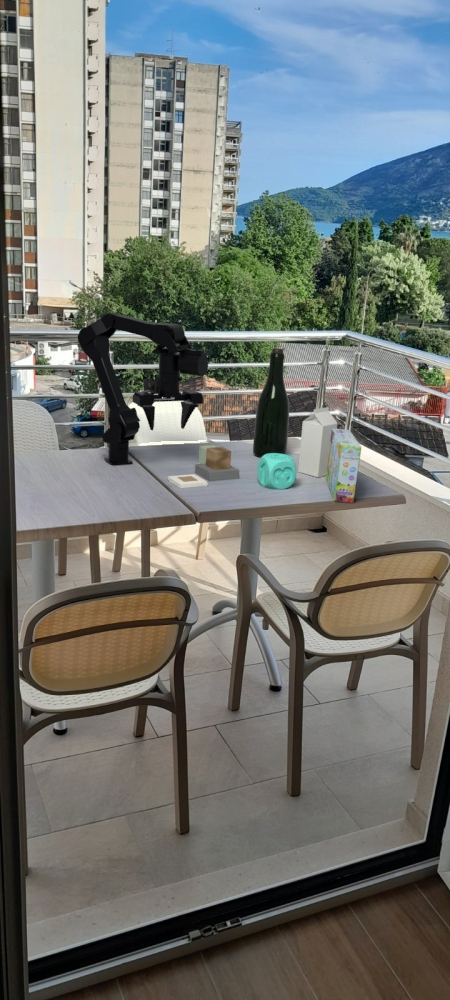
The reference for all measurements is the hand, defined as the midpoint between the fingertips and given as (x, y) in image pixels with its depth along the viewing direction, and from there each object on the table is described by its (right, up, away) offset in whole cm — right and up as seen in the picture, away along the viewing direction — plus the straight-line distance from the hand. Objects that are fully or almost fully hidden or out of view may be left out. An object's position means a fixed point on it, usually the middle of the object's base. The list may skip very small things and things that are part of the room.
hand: (167, 429), depth 205 cm
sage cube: (+11, -9, +15) cm, 20 cm away
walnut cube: (+14, -10, +2) cm, 17 cm away
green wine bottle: (+30, -6, +29) cm, 42 cm away
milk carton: (+42, -12, +11) cm, 45 cm away
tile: (+6, -15, -6) cm, 17 cm away
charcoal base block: (+14, -13, +3) cm, 19 cm away
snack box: (+46, -17, -5) cm, 50 cm away
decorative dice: (+29, -16, -3) cm, 33 cm away
